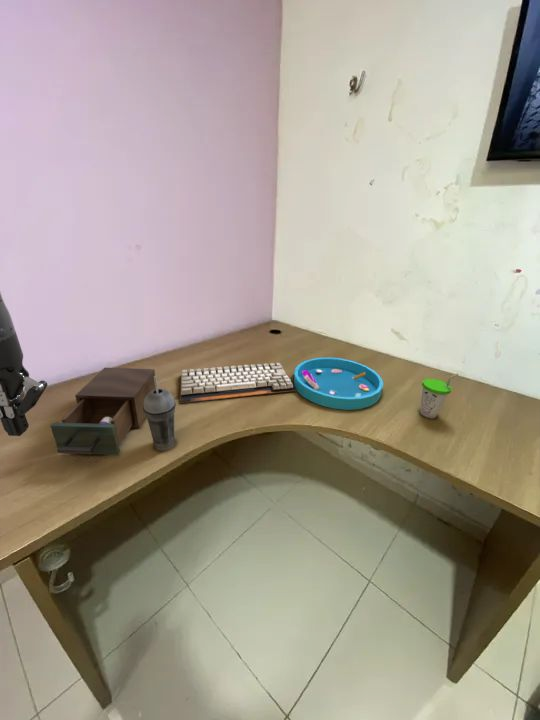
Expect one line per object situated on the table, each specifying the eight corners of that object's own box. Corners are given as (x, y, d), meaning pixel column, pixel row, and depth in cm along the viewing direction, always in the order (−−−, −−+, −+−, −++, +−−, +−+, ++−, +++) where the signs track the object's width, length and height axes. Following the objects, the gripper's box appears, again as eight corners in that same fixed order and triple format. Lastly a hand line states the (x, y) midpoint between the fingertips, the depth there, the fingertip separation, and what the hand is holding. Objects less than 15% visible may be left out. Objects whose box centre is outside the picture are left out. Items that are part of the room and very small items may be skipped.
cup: (409, 412, 95) (421, 368, 89) (422, 404, 100) (434, 362, 93) (434, 425, 90) (449, 379, 83) (446, 416, 94) (461, 372, 88)
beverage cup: (180, 434, 81) (174, 365, 73) (178, 453, 75) (170, 380, 66) (151, 436, 80) (141, 367, 72) (146, 455, 74) (134, 382, 65)
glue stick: (100, 447, 73) (100, 436, 72) (87, 445, 73) (86, 434, 71) (114, 427, 80) (114, 417, 78) (102, 425, 79) (102, 415, 78)
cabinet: (139, 428, 83) (133, 397, 79) (83, 426, 82) (74, 395, 78) (158, 396, 97) (154, 369, 93) (110, 395, 97) (104, 367, 92)
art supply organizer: (283, 369, 118) (284, 355, 116) (354, 364, 125) (357, 350, 123) (311, 414, 92) (313, 397, 89) (399, 404, 99) (403, 388, 96)
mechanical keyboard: (180, 404, 94) (179, 394, 92) (180, 375, 111) (179, 367, 109) (297, 392, 103) (298, 383, 102) (280, 367, 120) (281, 359, 119)
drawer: (109, 468, 68) (102, 440, 65) (46, 466, 68) (37, 438, 65) (141, 417, 85) (137, 393, 82) (91, 416, 85) (85, 391, 82)
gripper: (46, 327, 47) (72, 420, 54) (-43, 323, 47) (-5, 418, 54) (9, 345, 40) (44, 449, 48) (-95, 342, 40) (-44, 447, 47)
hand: (18, 432), depth 51 cm, fingers closed
